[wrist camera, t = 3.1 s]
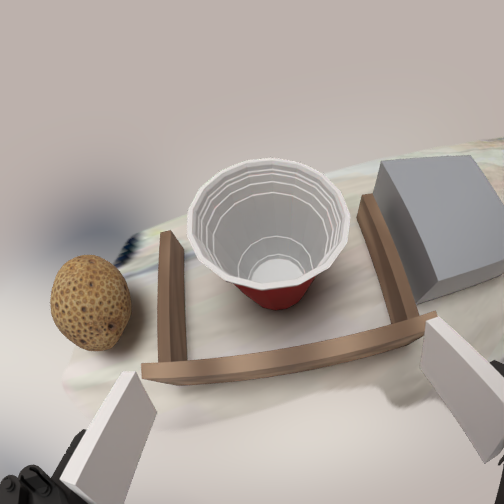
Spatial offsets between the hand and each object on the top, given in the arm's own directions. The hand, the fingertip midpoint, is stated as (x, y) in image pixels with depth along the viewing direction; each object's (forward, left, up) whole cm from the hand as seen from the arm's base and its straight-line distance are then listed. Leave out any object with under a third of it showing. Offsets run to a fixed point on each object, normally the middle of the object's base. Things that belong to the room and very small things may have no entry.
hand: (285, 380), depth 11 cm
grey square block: (-8, -23, -14) cm, 28 cm away
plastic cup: (+6, -8, -14) cm, 18 cm away
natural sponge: (+19, +5, -14) cm, 24 cm away
